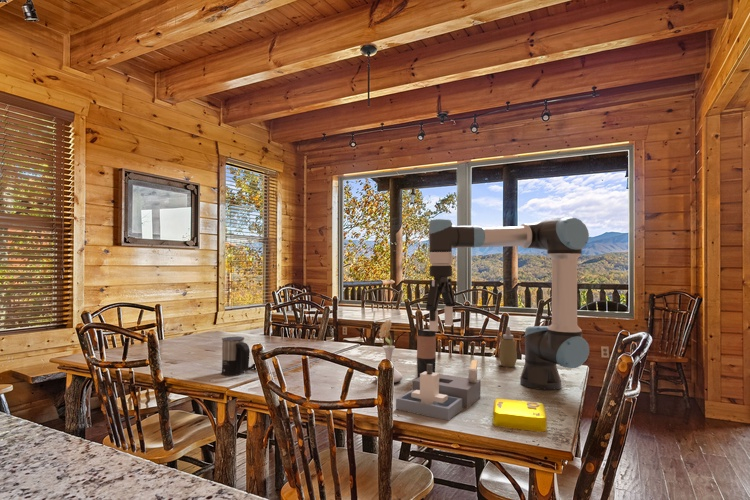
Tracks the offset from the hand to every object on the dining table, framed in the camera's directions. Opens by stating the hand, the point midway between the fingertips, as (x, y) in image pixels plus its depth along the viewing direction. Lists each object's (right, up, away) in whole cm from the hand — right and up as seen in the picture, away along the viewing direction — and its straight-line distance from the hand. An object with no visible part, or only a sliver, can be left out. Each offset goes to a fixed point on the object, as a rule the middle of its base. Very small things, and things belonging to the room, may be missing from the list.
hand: (441, 328), depth 148 cm
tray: (-5, -25, -6) cm, 26 cm away
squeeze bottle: (+40, -28, +56) cm, 74 cm away
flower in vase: (-17, -26, +26) cm, 41 cm away
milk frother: (-79, -26, +39) cm, 92 cm away
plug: (-5, -25, -6) cm, 26 cm away
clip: (+14, -20, +13) cm, 27 cm away
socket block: (+3, -26, +7) cm, 27 cm away
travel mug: (-1, -27, +33) cm, 43 cm away
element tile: (+21, -26, -14) cm, 37 cm away
